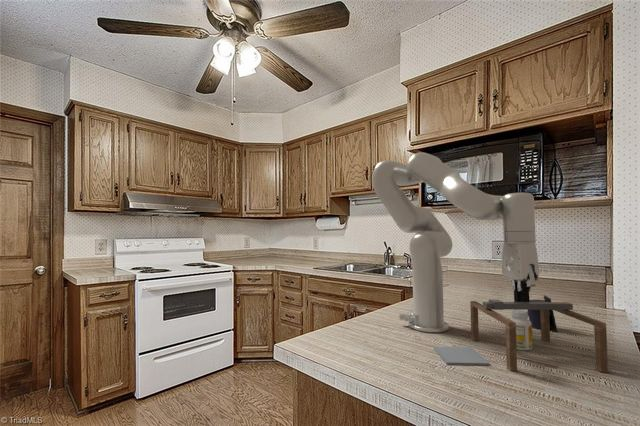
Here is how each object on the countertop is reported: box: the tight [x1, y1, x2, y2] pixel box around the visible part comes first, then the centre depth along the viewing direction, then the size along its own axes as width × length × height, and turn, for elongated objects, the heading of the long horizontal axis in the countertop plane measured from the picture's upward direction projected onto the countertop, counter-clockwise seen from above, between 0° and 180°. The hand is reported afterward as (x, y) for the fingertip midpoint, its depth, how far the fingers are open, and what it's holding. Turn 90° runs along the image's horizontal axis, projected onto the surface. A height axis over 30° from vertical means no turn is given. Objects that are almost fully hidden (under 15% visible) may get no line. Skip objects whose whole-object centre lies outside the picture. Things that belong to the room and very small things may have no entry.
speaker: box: [526, 294, 558, 333], centre depth 104 cm, size 8×6×10 cm
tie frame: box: [469, 300, 609, 374], centre depth 83 cm, size 22×21×11 cm
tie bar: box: [482, 299, 574, 311], centre depth 85 cm, size 22×3×2 cm, turn 87°
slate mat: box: [433, 346, 491, 366], centre depth 82 cm, size 10×10×1 cm
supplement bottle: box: [509, 309, 533, 351], centre depth 88 cm, size 5×5×10 cm
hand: (521, 305), depth 87 cm, fingers closed
